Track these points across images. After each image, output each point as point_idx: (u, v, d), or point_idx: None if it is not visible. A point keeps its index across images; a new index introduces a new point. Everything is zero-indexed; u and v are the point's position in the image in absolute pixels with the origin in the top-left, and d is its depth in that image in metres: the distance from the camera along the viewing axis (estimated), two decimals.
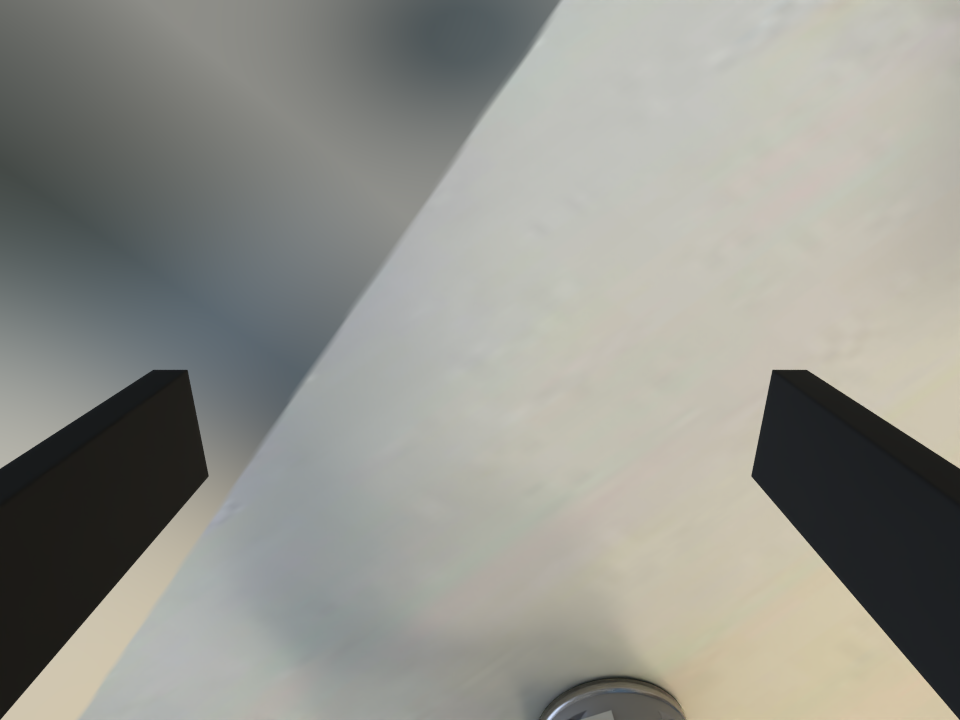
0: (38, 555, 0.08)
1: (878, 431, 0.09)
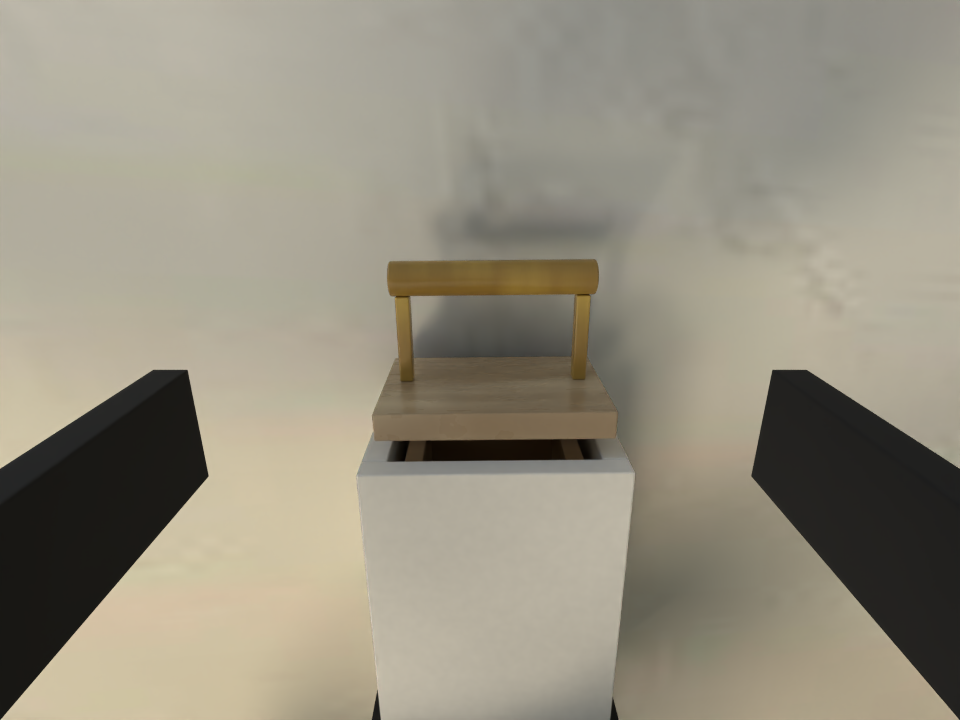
0: (38, 555, 0.08)
1: (878, 431, 0.09)
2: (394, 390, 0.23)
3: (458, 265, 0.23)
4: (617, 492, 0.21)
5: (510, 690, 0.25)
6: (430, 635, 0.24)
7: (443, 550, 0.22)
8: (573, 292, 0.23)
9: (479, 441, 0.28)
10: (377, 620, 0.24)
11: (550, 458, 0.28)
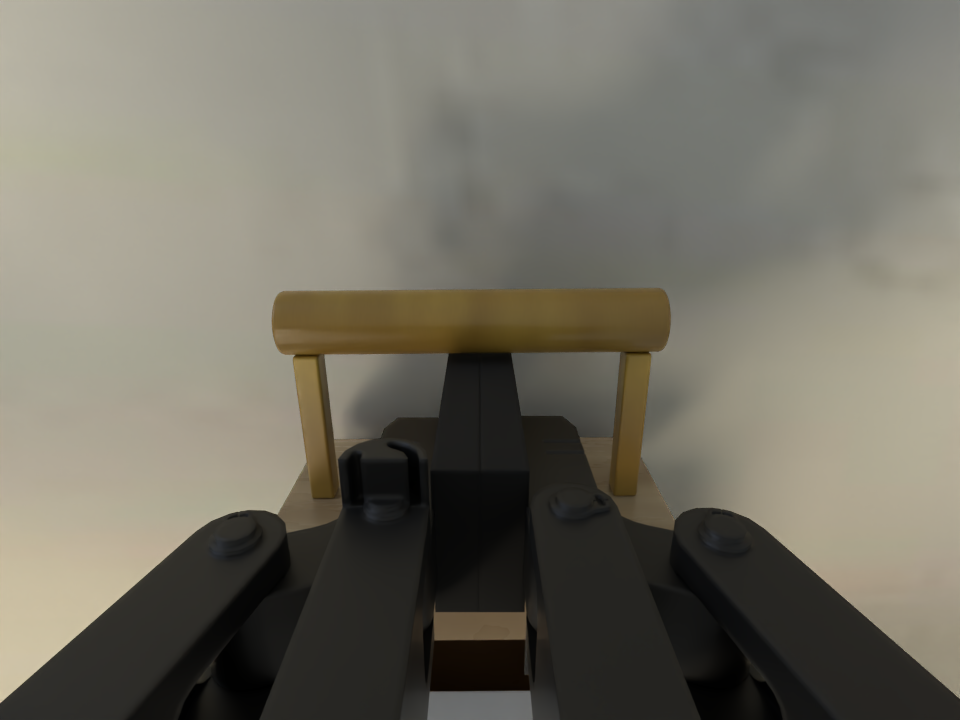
0: None
1: (496, 378, 0.12)
2: (295, 524, 0.13)
3: (406, 300, 0.12)
4: None
5: None
6: None
7: None
8: (621, 350, 0.12)
9: None
10: None
11: None
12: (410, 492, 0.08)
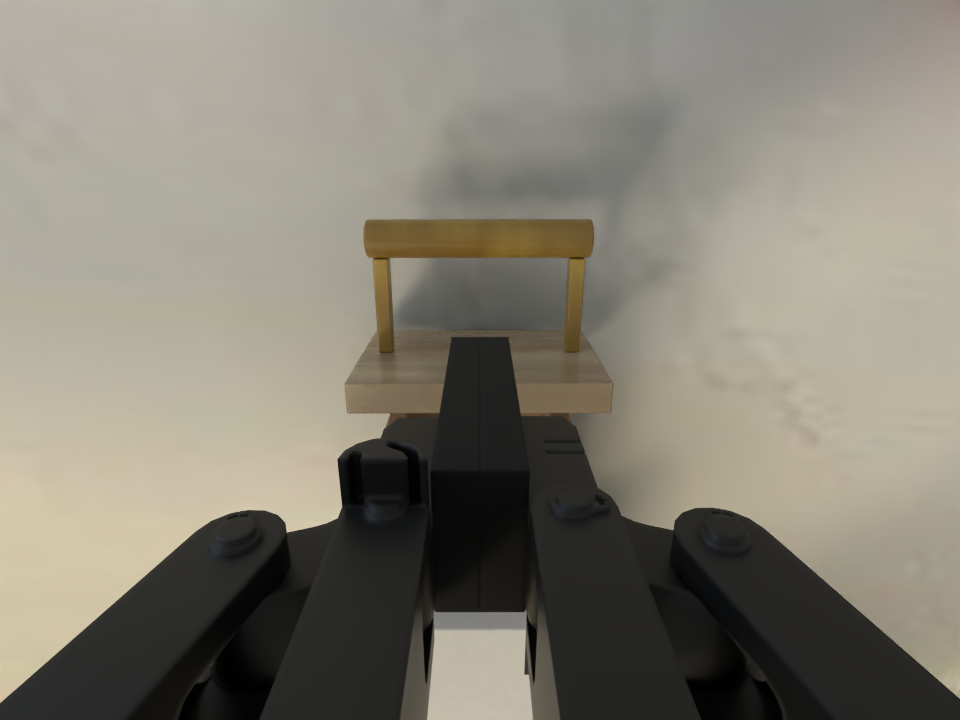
0: None
1: (496, 378, 0.12)
2: (372, 361, 0.22)
3: (441, 224, 0.21)
4: None
5: None
6: None
7: (429, 694, 0.23)
8: (566, 255, 0.21)
9: None
10: None
11: None
12: (409, 492, 0.08)
